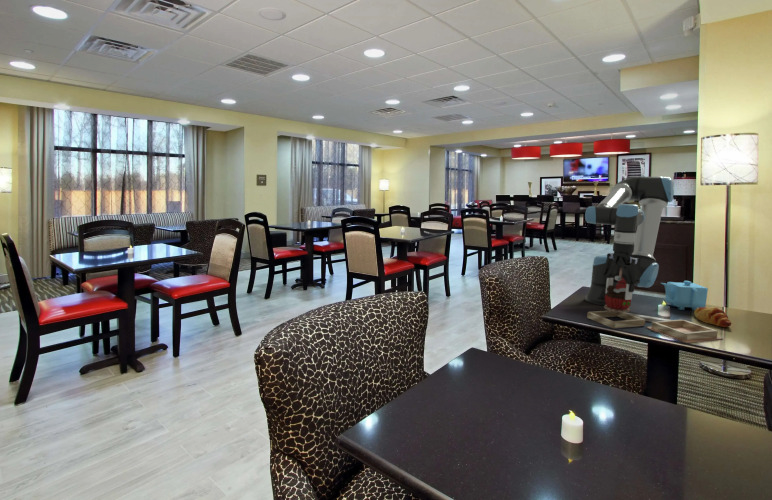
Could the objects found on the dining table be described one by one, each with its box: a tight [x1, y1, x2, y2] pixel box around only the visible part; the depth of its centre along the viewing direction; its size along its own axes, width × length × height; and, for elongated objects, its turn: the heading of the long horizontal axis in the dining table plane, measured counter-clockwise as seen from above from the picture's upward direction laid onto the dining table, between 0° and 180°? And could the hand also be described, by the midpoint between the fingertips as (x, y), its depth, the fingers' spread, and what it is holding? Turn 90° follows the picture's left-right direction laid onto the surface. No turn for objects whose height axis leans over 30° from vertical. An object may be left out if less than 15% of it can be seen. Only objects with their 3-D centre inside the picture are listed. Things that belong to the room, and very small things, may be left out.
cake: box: [603, 268, 632, 313], centre depth 176 cm, size 11×9×18 cm
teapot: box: [660, 280, 709, 311], centre depth 202 cm, size 18×16×13 cm
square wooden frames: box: [586, 310, 724, 344], centre depth 171 cm, size 34×32×3 cm
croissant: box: [693, 306, 732, 328], centre depth 182 cm, size 21×10×8 cm, turn 177°
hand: (618, 296), depth 177 cm, fingers closed on cake, 9 cm apart
